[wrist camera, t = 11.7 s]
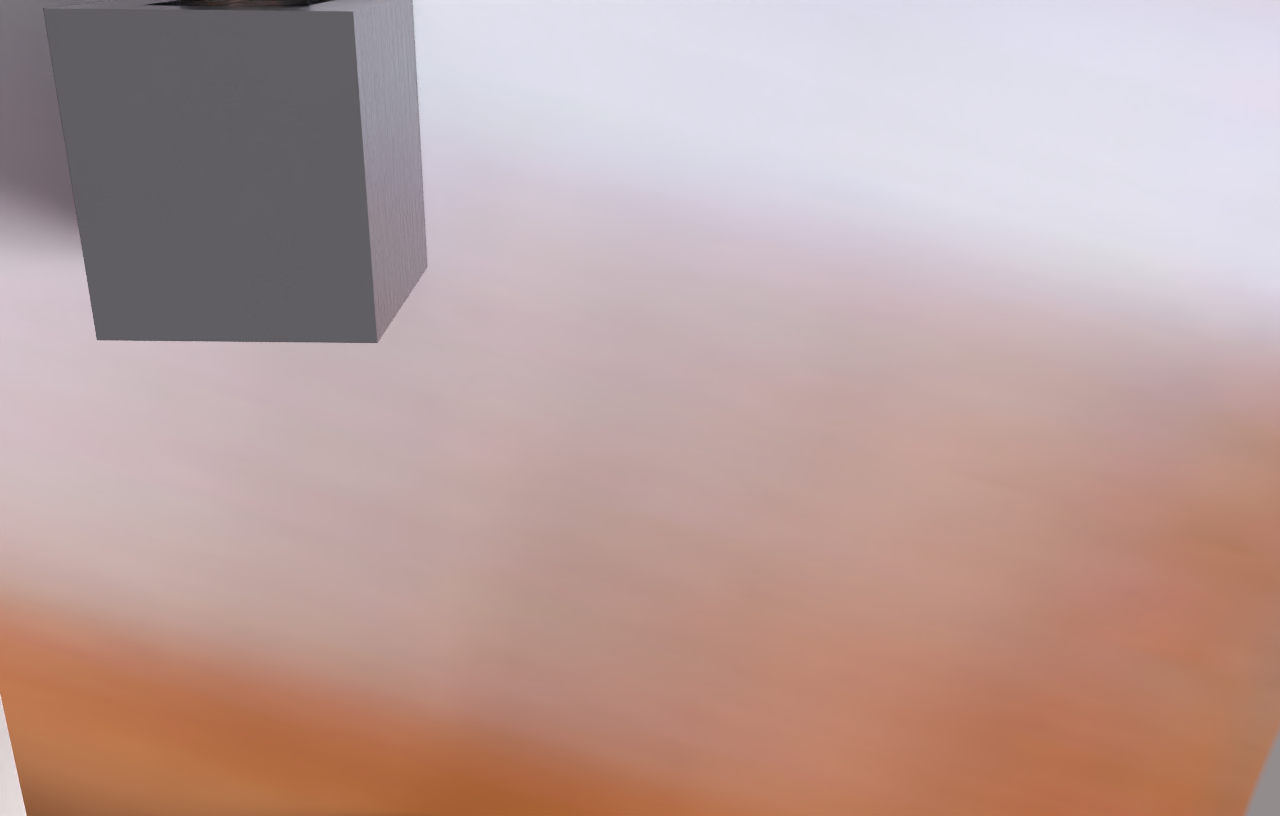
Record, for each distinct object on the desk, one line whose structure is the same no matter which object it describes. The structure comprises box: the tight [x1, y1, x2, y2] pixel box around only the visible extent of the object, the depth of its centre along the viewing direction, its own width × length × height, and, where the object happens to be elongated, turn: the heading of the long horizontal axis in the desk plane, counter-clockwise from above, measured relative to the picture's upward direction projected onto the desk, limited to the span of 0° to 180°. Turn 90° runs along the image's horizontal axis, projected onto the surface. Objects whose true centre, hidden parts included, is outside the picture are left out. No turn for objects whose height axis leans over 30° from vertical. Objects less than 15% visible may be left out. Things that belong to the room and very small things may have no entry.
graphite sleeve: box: [43, 0, 427, 343], centre depth 37 cm, size 9×8×8 cm
